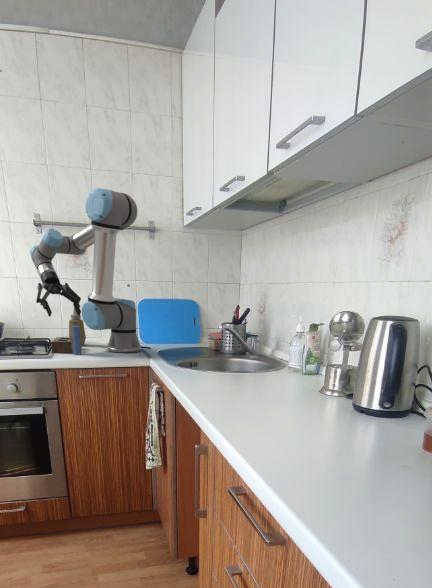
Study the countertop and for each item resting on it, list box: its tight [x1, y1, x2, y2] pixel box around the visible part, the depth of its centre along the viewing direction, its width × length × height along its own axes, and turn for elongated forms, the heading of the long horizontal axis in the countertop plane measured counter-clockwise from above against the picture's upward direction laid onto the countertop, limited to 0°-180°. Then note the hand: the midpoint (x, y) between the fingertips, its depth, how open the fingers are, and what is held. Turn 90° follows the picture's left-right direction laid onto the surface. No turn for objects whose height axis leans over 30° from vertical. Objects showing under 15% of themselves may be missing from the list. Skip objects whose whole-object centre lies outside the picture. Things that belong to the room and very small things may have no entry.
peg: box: [72, 326, 83, 356], centre depth 204 cm, size 3×3×12 cm
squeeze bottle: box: [68, 307, 87, 347], centre depth 227 cm, size 8×8×18 cm
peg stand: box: [50, 336, 74, 354], centre depth 214 cm, size 9×15×5 cm, turn 9°
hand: (65, 314), depth 207 cm, fingers open, 13 cm apart
